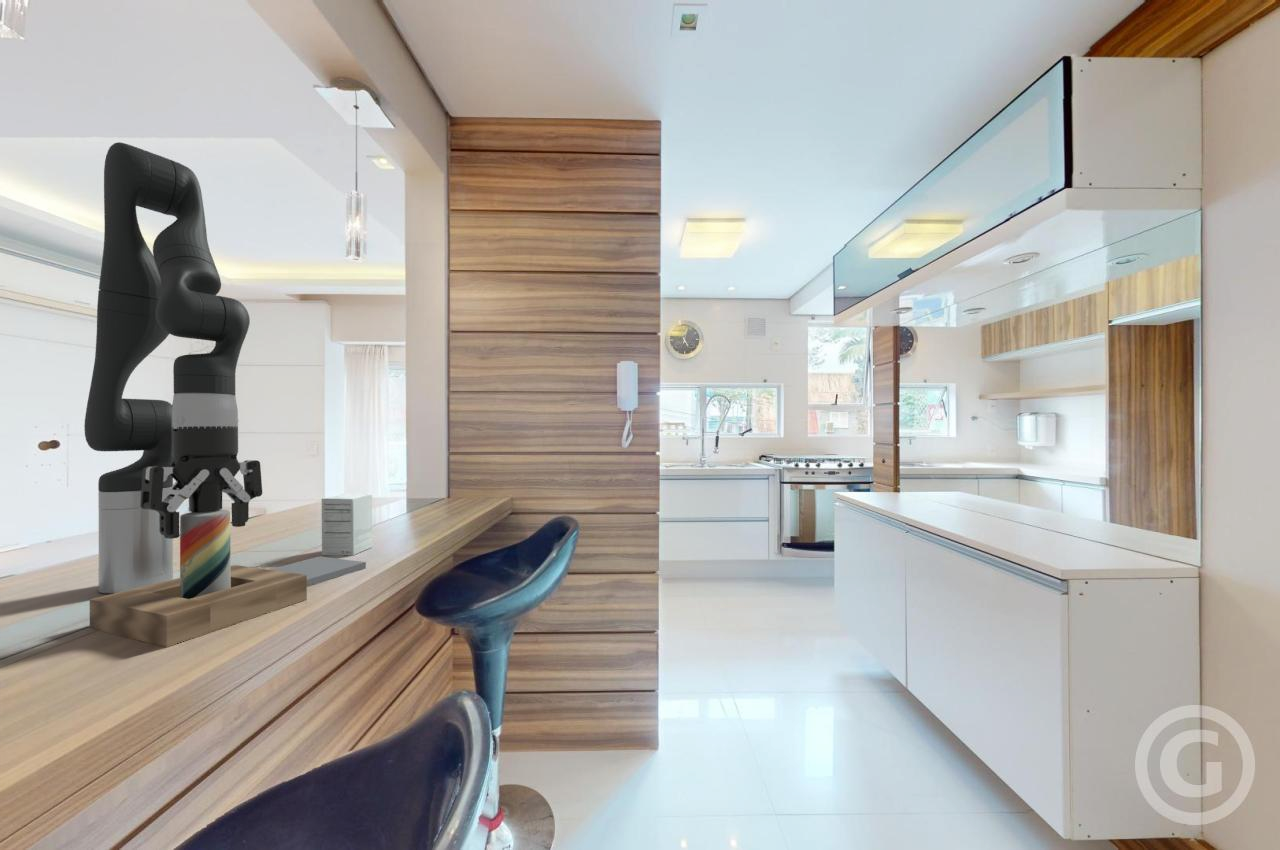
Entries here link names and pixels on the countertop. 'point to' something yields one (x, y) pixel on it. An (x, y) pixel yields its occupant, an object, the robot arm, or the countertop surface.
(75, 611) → the countertop surface
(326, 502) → the supplement box
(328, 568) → the rubber mat
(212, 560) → the lotion bottle
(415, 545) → the countertop surface
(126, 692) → the countertop surface
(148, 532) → the robot arm
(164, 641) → the block
